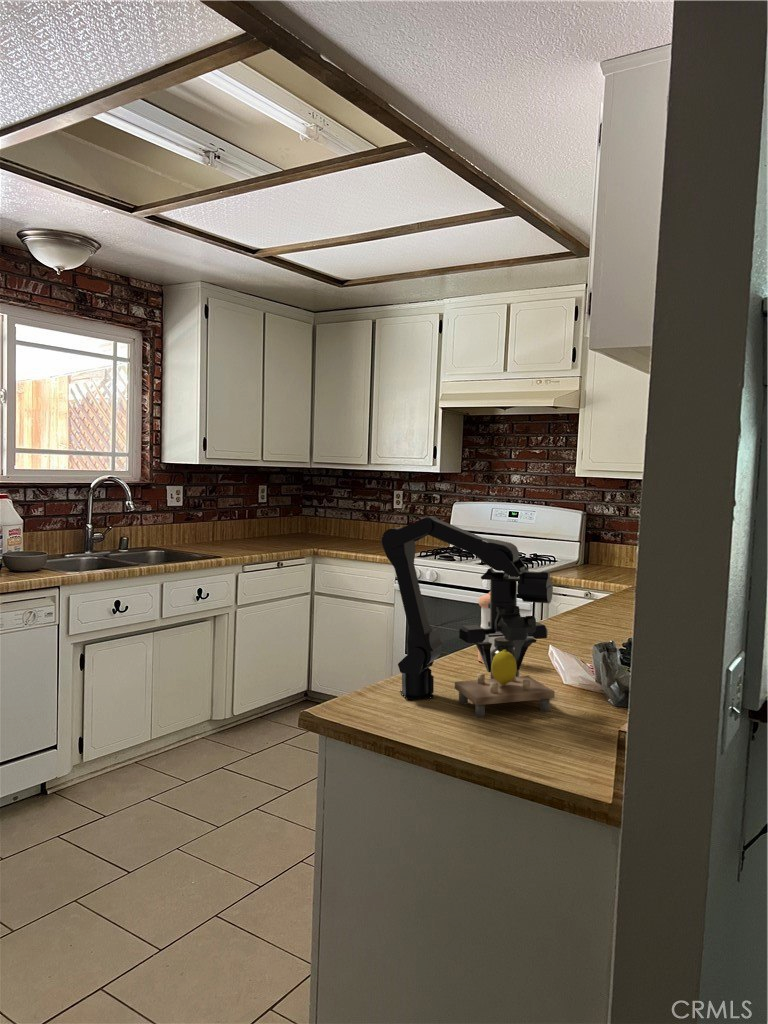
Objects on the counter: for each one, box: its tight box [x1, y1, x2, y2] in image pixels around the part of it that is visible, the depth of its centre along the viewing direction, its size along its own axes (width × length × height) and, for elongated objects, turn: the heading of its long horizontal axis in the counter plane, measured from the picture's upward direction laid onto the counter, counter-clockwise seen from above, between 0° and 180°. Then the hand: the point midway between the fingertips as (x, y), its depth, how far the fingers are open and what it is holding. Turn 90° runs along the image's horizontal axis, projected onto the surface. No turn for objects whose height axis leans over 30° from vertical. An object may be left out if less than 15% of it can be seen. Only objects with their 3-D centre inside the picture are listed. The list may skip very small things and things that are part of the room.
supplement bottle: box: [490, 637, 520, 679], centre depth 183 cm, size 7×7×12 cm
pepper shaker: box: [477, 591, 504, 662], centre depth 209 cm, size 7×7×19 cm
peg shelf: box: [454, 673, 555, 719], centre depth 169 cm, size 18×13×6 cm
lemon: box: [491, 650, 517, 686], centre depth 169 cm, size 6×6×8 cm
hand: (503, 670), depth 169 cm, fingers open, 6 cm apart
